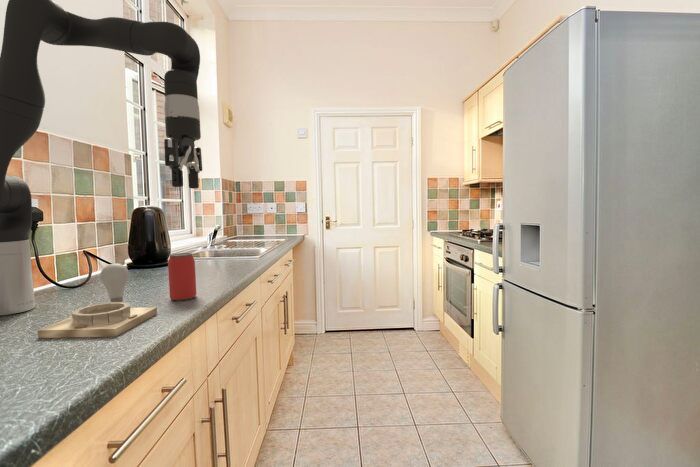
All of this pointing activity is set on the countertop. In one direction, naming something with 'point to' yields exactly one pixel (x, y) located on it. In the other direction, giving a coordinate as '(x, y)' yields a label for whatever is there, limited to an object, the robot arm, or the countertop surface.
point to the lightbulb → (115, 280)
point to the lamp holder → (98, 321)
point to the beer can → (182, 276)
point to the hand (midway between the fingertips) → (186, 187)
